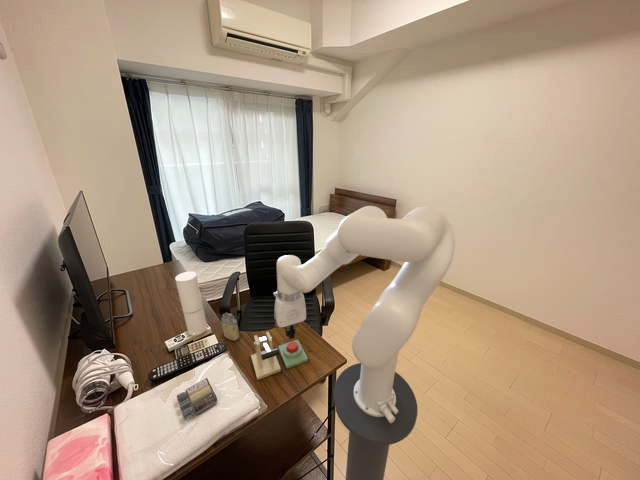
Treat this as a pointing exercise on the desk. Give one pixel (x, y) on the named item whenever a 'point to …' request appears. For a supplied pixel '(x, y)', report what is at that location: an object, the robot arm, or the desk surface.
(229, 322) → the yellow grey jar
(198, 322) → the cylindrical container
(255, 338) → the cream lever stand
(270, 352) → the lever
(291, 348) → the button
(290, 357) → the control box
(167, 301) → the desk surface
